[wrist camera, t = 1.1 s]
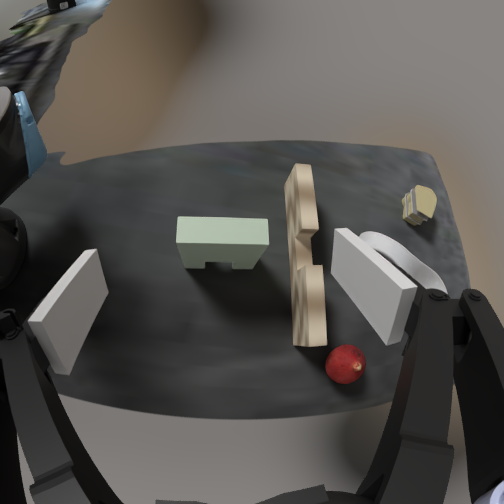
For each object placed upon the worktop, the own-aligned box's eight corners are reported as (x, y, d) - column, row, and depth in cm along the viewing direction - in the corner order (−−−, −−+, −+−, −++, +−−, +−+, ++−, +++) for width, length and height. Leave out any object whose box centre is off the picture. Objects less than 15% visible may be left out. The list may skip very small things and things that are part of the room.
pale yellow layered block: (424, 240, 50) (441, 231, 44) (391, 222, 49) (407, 211, 44) (426, 201, 53) (441, 190, 48) (395, 182, 52) (409, 170, 47)
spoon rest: (444, 300, 47) (469, 294, 40) (422, 349, 43) (448, 349, 36) (366, 221, 48) (387, 205, 42) (335, 270, 45) (355, 258, 38)
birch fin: (308, 344, 40) (326, 345, 34) (293, 345, 40) (309, 346, 33) (297, 186, 48) (310, 165, 41) (284, 185, 47) (295, 163, 41)
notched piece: (184, 268, 41) (176, 242, 30) (185, 248, 42) (177, 216, 30) (252, 269, 42) (268, 244, 31) (251, 249, 43) (267, 219, 32)
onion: (329, 337, 41) (354, 337, 34) (356, 354, 41) (384, 356, 33) (310, 370, 39) (332, 376, 32) (339, 386, 39) (364, 394, 32)
